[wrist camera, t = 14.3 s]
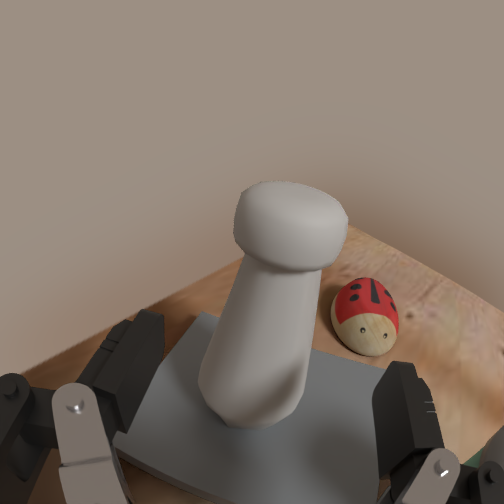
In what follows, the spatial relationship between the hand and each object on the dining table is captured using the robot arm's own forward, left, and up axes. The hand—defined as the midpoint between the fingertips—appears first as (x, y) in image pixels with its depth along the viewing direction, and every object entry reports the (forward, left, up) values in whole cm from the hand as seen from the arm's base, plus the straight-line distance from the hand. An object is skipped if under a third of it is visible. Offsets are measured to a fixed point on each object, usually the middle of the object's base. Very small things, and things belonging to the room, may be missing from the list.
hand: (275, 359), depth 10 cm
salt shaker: (-1, +4, -9) cm, 9 cm away
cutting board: (0, +4, -10) cm, 11 cm away
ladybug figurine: (+6, +17, -10) cm, 21 cm away
